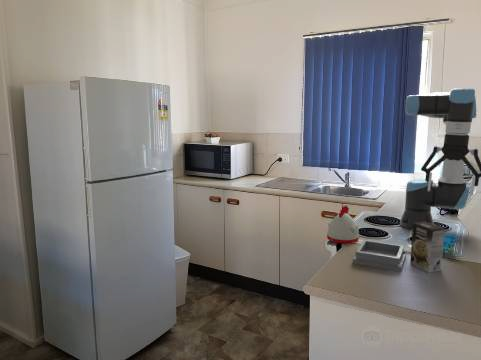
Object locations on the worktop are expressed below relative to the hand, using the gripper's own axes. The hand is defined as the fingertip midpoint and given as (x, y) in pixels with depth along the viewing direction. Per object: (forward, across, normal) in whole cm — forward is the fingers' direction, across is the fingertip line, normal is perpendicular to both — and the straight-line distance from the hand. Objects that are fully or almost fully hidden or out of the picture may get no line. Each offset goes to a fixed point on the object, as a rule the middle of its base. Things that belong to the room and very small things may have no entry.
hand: (449, 192), depth 140 cm
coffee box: (+28, -5, -7) cm, 29 cm away
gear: (+28, +1, +12) cm, 31 cm away
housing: (+28, -21, -6) cm, 36 cm away
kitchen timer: (+30, -40, +13) cm, 51 cm away
